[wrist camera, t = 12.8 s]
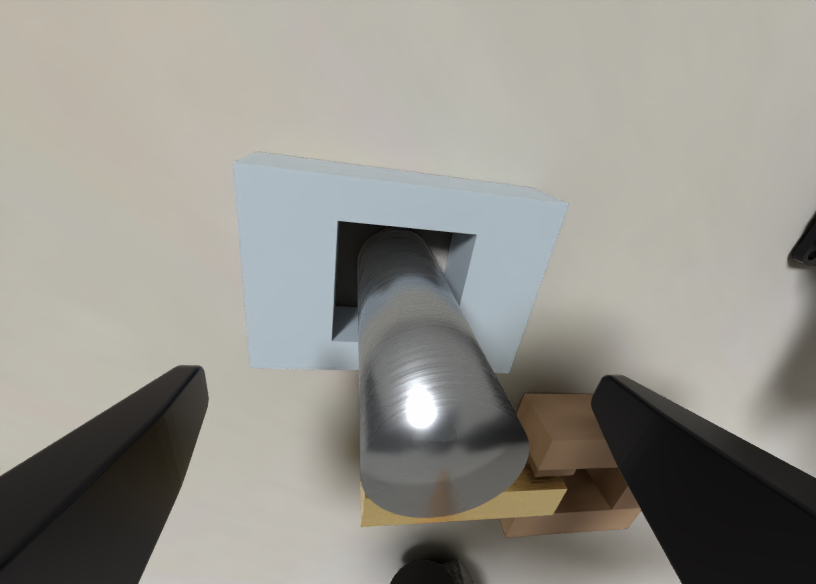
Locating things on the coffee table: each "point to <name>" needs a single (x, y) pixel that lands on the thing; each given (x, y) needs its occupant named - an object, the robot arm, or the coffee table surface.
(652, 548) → the coffee table surface
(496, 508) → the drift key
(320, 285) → the light blue rectangular frame
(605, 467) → the socket block
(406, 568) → the hammer
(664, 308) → the coffee table surface
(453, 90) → the coffee table surface
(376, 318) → the peg
